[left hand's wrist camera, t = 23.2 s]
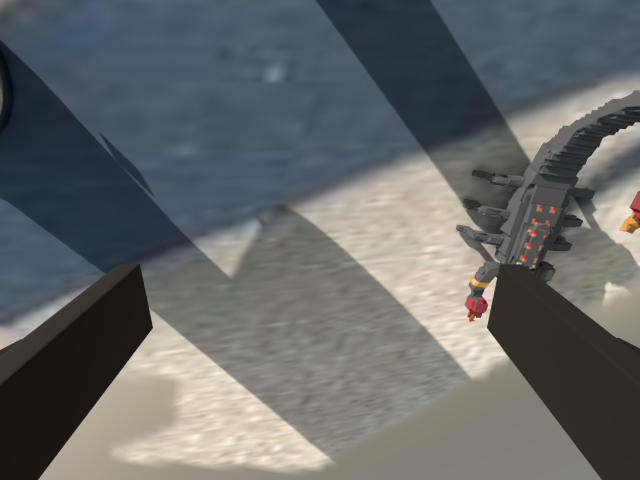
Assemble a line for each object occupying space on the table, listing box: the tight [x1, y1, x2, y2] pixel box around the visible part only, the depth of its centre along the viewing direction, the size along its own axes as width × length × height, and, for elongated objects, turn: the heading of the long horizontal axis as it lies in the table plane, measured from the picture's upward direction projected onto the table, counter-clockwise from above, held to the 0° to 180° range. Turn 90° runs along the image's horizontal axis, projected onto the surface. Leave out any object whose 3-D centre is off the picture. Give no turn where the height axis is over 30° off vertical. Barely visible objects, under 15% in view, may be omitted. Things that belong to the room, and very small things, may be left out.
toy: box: [456, 91, 640, 322], centre depth 33 cm, size 13×27×18 cm, turn 172°
